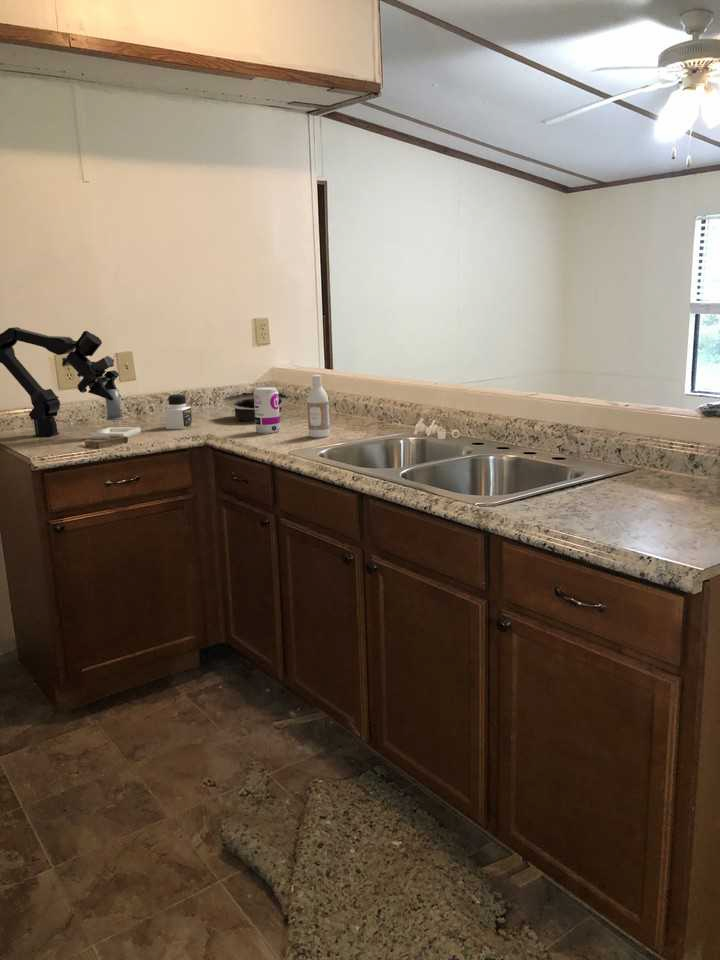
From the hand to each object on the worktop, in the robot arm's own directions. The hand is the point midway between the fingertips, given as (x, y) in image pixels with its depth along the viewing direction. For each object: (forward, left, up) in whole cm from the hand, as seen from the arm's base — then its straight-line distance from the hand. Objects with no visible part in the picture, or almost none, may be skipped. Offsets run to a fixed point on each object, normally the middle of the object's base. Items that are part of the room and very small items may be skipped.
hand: (116, 398), depth 265 cm
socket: (+3, -15, -13) cm, 20 cm away
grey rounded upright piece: (-1, 0, -7) cm, 7 cm away
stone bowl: (+37, +39, -13) cm, 55 cm away
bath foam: (+70, +4, -13) cm, 71 cm away
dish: (-1, 0, -13) cm, 13 cm away
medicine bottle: (+14, +18, -13) cm, 26 cm away
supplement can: (+50, +11, -13) cm, 53 cm away
